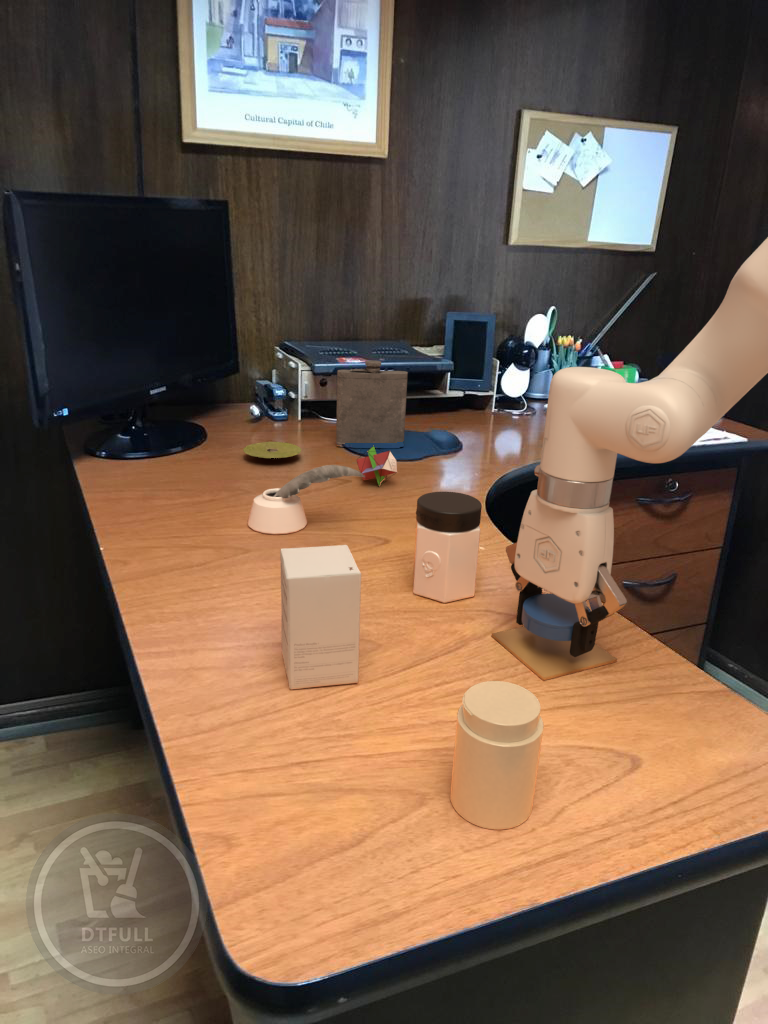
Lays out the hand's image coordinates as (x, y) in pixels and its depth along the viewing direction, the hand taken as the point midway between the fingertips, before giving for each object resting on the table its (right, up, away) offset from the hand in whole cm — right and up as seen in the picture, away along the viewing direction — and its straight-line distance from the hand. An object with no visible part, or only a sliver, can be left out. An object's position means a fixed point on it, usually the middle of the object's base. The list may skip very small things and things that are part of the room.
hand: (553, 635), depth 87 cm
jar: (-11, +4, +14) cm, 18 cm away
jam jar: (-10, -10, -23) cm, 27 cm away
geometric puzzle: (-21, +19, +53) cm, 60 cm away
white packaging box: (-26, -3, -5) cm, 27 cm away
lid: (0, +3, -1) cm, 3 cm away
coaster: (0, -2, +1) cm, 2 cm away
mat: (-41, +24, +65) cm, 80 cm away
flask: (-22, +27, +76) cm, 83 cm away
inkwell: (-31, +12, +33) cm, 47 cm away
